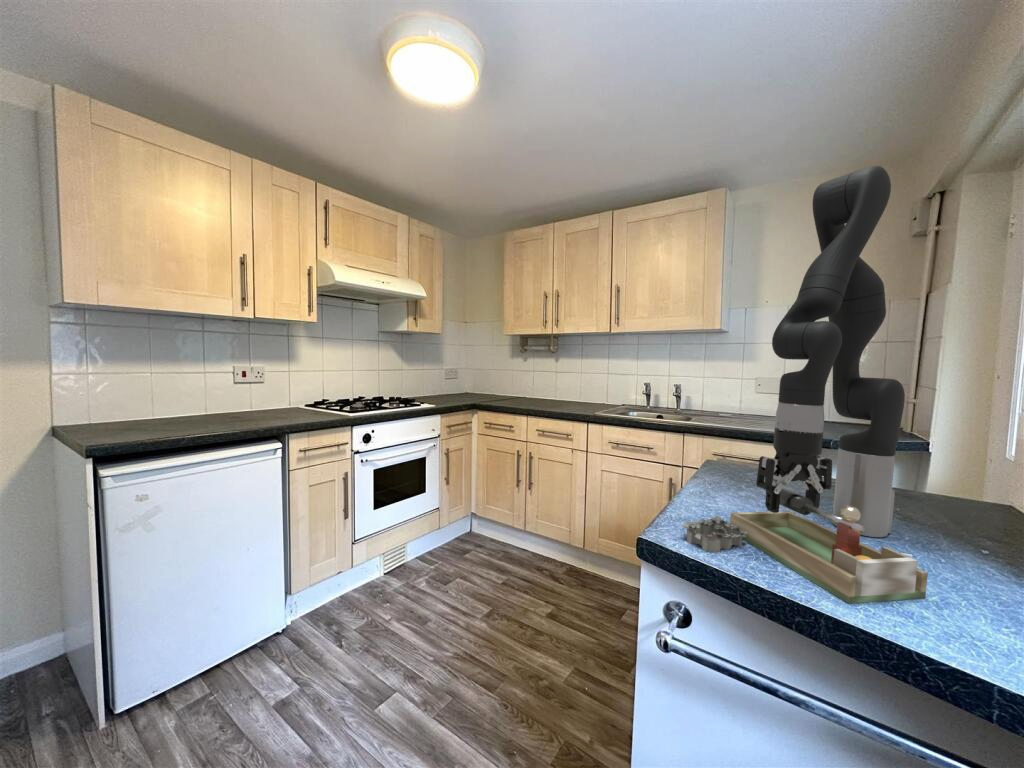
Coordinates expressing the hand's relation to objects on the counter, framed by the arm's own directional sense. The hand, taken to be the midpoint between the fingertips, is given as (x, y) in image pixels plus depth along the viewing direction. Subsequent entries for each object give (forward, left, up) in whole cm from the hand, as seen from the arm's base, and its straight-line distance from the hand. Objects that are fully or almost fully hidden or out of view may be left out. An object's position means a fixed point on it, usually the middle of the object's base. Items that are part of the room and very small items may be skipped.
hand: (791, 510), depth 77 cm
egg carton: (+14, -3, -8) cm, 16 cm away
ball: (0, +14, -4) cm, 14 cm away
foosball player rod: (0, +5, -6) cm, 8 cm away
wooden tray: (0, +5, -7) cm, 9 cm away
